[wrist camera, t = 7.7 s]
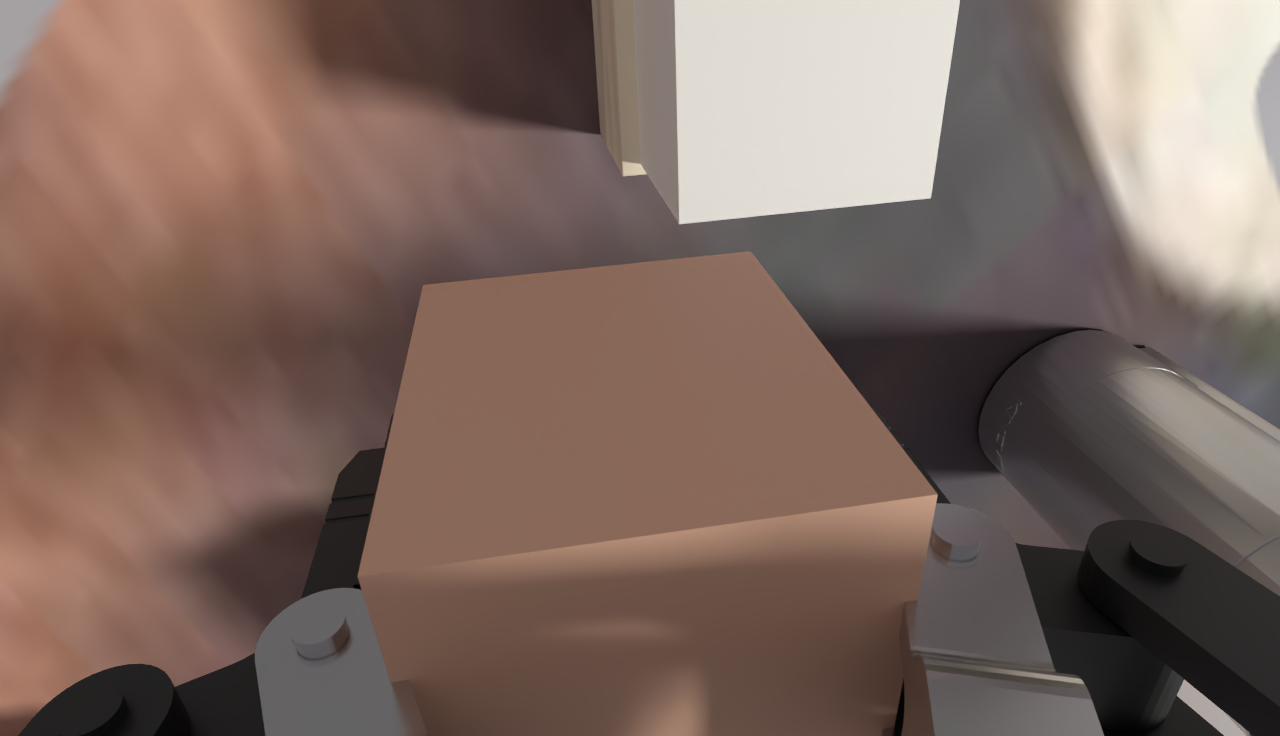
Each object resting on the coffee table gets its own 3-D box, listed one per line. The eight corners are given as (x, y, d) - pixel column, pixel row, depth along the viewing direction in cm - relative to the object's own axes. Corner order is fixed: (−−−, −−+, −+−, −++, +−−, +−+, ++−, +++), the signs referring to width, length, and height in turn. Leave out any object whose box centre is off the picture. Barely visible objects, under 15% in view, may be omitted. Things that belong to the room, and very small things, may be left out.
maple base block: (807, -113, 28) (880, -121, 22) (794, 118, 32) (853, 155, 26) (584, -103, 27) (607, -110, 21) (600, 134, 31) (622, 176, 25)
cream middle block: (864, -96, 23) (975, -103, 18) (843, 145, 26) (930, 198, 21) (629, -84, 22) (672, -87, 17) (640, 163, 25) (679, 224, 20)
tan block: (750, 250, 12) (937, 494, 7) (744, 501, 14) (877, 817, 9) (422, 284, 11) (357, 576, 6) (474, 539, 14) (457, 898, 9)
